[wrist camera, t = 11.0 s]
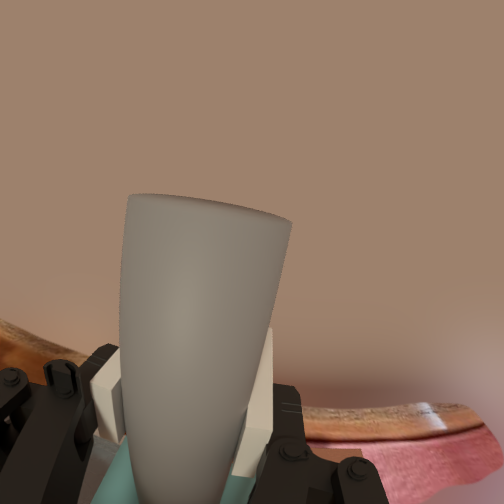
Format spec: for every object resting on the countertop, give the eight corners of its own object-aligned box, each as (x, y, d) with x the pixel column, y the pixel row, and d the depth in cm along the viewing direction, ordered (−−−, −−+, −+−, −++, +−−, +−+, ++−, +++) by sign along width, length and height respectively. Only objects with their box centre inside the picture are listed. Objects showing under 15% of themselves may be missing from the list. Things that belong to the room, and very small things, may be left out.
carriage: (94, 539, 7) (-17, 192, 4) (129, 461, 14) (128, 184, 10) (242, 577, 7) (441, 281, 4) (250, 489, 14) (337, 223, 10)
